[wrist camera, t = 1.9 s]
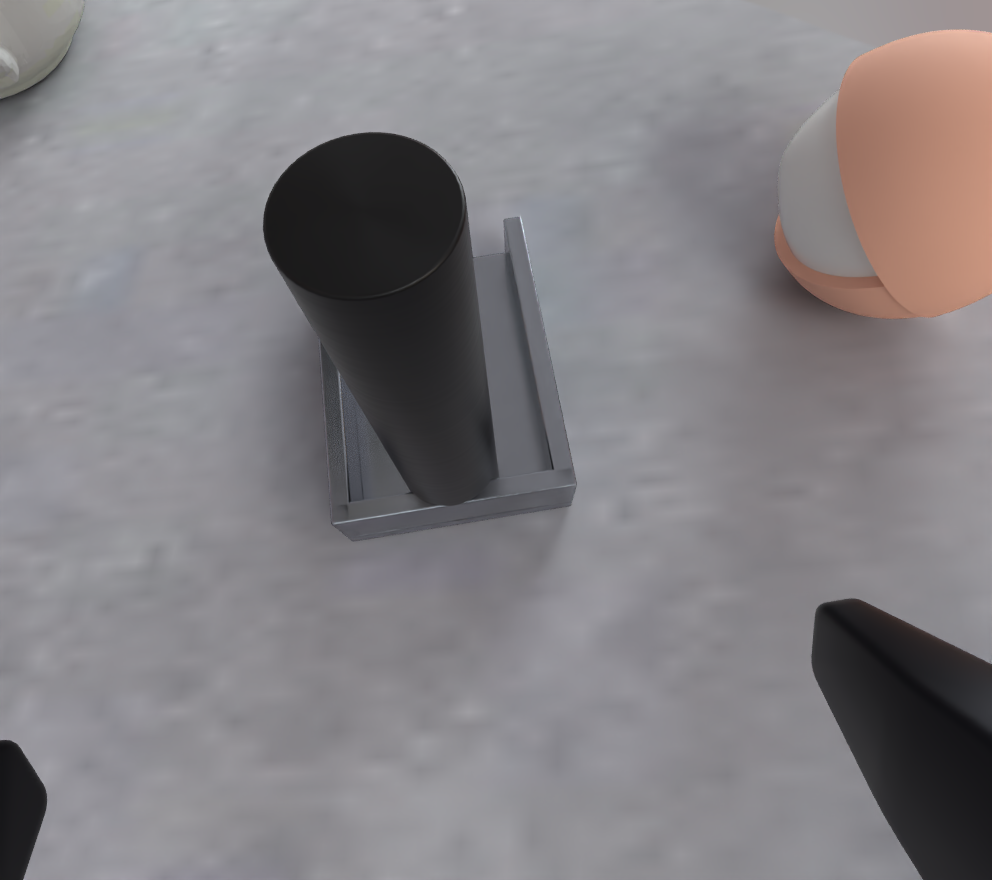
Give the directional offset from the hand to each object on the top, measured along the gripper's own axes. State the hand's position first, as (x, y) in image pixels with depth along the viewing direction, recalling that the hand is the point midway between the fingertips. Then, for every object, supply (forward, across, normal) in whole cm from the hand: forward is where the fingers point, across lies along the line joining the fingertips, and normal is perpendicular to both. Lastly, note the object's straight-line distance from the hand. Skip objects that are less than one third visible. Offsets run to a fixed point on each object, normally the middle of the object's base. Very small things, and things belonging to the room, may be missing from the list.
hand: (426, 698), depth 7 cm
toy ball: (+17, -15, 0) cm, 23 cm away
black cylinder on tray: (+16, 0, +2) cm, 16 cm away
